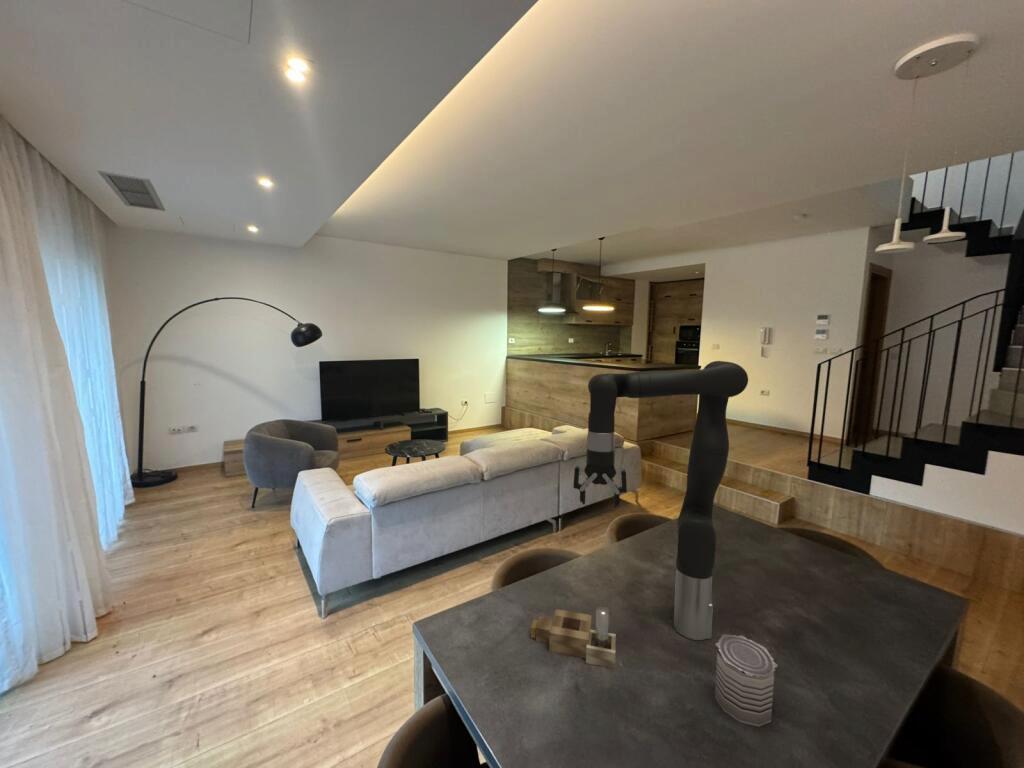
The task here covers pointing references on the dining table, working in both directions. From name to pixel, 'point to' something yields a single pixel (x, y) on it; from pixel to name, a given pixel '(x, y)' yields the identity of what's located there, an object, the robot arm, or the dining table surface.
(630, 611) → the dining table surface
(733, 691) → the can
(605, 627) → the rod
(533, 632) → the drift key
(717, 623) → the dining table surface
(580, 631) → the socket block
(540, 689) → the dining table surface
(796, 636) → the dining table surface
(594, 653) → the frame
